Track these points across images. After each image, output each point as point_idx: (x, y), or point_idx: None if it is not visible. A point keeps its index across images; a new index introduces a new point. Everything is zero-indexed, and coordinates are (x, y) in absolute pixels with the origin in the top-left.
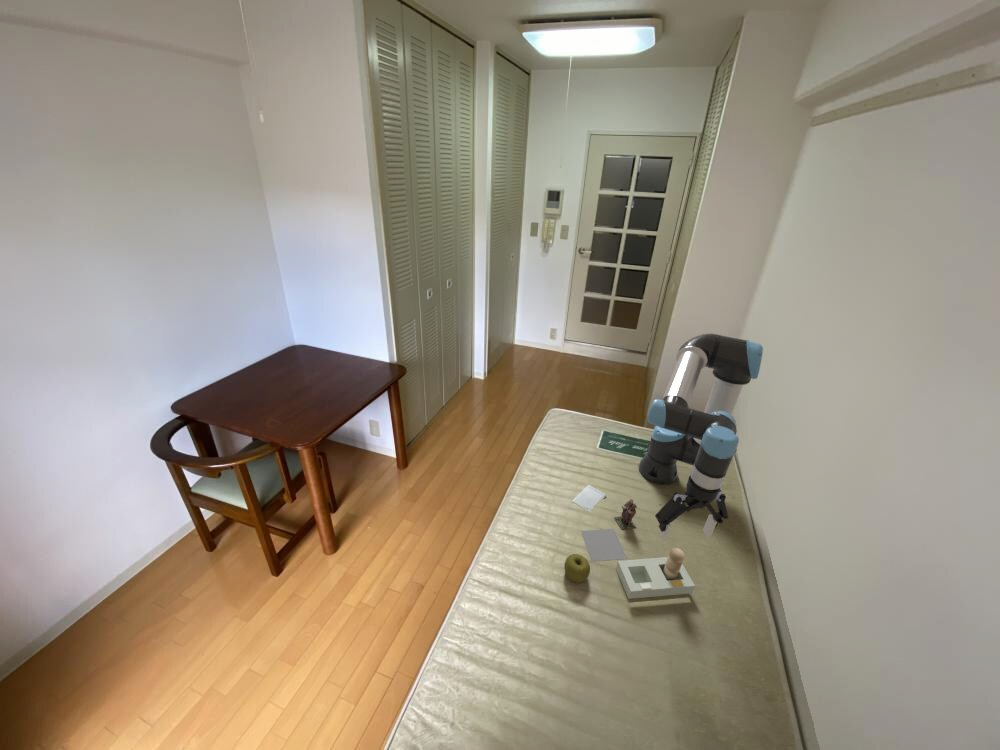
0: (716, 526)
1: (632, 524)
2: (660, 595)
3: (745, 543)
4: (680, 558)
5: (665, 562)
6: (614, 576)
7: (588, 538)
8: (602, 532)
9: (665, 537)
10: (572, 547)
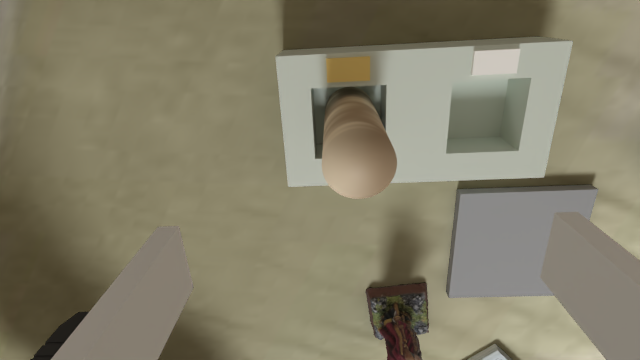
0: (64, 322)
1: (380, 308)
2: (412, 44)
3: (12, 231)
4: (358, 135)
5: None
6: None
7: None
8: (496, 286)
9: (596, 238)
10: (621, 241)
